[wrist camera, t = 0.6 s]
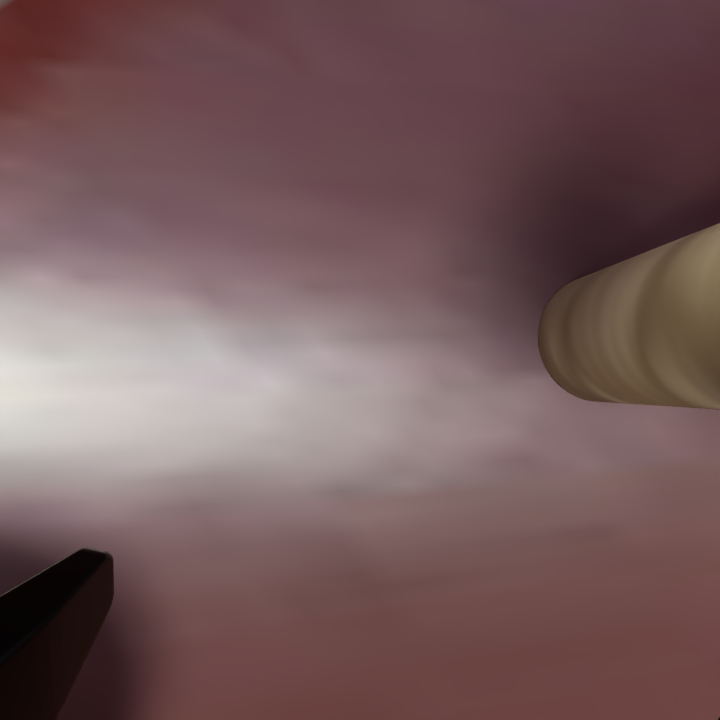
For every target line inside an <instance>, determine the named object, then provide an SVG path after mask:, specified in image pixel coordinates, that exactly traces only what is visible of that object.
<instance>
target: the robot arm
mask: <svg viewBox="0 0 720 720" xmlns="http://www.w3.org/2000/svg"><path fill="white" fill-rule="evenodd" d="M113 595H114V575H113V557H112V555H111V554H110V553H108V552H105V551H101V550H96V549H92V548H82V549H79V550H77V551H75V552H74V553H72V554H70V555H69V556H67V557H65V558H64V559H62V560H60V561H59V562H57V563H55V564H53V565H52V566H50V567H48V568H47V569H45V570H43V571H42V572H40V573H38V574H37V575H35V576H33V577H31V578H30V579H28V580H26V581H25V582H23V583H21V584H20V585H18V586H16V587H15V588H13V589H11V590H9V591H8V592H6V593H4V594H3V595H1V596H0V720H56V718H57V716H58V714H59V712H60V710H61V708H62V706H63V704H64V702H65V700H66V698H67V696H68V694H69V692H70V690H71V688H72V686H73V684H74V682H75V680H76V677H77V675H78V673H79V671H80V669H81V667H82V665H83V663H84V661H85V659H86V657H87V655H88V653H89V651H90V649H91V647H92V644H93V642H94V640H95V638H96V636H97V634H98V632H99V630H100V628H101V626H102V624H103V622H104V620H105V618H106V616H107V614H108V611H109V609H110V607H111V604H112V600H113ZM718 720H720V717H719V719H718Z"/></svg>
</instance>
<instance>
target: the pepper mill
mask: <svg viewBox="0 0 720 720" xmlns="http://www.w3.org/2000/svg"><path fill="white" fill-rule="evenodd" d="M538 345H539V351H540V355H541V358H542V361H543V363H544V365H545V367H546V369H547V371H548V373H549V374H550V376H551V377H552V378H553V379H554V381H555V382H556V383H557V384H558V385H559V386H560V387H562V388H563V389H564V390H566V391H567V392H569V393H570V394H572V395H574V396H576V397H578V398H581V399H584V400H589V401H596V402H612V403H627V404H643V405H658V406H674V407H689V408H705V409H720V223H718V224H716V225H713V226H711V227H708V228H706V229H703V230H700V231H698V232H695V233H693V234H690V235H688V236H685V237H683V238H680V239H678V240H675V241H672V242H670V243H667V244H665V245H662V246H660V247H657V248H655V249H652V250H650V251H647V252H645V253H642V254H639V255H637V256H634V257H632V258H629V259H627V260H624V261H622V262H619V263H617V264H614V265H611V266H609V267H606V268H604V269H601V270H599V271H596V272H594V273H591V274H589V275H586V276H583V277H581V278H578V279H576V280H574V281H572V282H570V283H568V284H566V285H565V286H563V287H562V288H561V289H559V290H558V291H557V292H556V293H555V294H554V295H553V297H552V298H551V299H550V300H549V302H548V303H547V305H546V307H545V309H544V311H543V313H542V316H541V319H540V323H539V329H538Z"/></svg>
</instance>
